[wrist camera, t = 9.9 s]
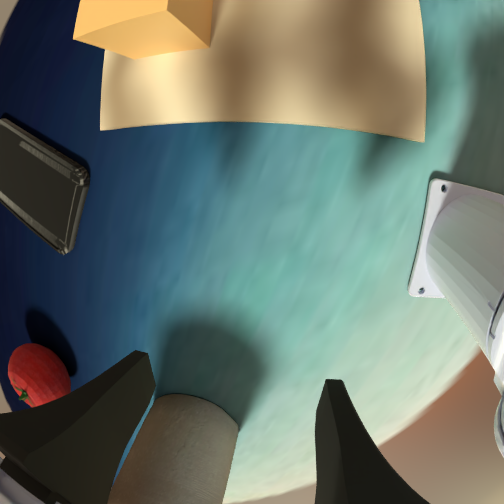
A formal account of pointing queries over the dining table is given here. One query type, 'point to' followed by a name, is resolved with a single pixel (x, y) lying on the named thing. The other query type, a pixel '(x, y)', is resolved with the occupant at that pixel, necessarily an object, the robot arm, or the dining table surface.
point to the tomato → (38, 374)
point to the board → (283, 70)
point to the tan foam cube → (144, 25)
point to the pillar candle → (178, 455)
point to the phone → (41, 186)
